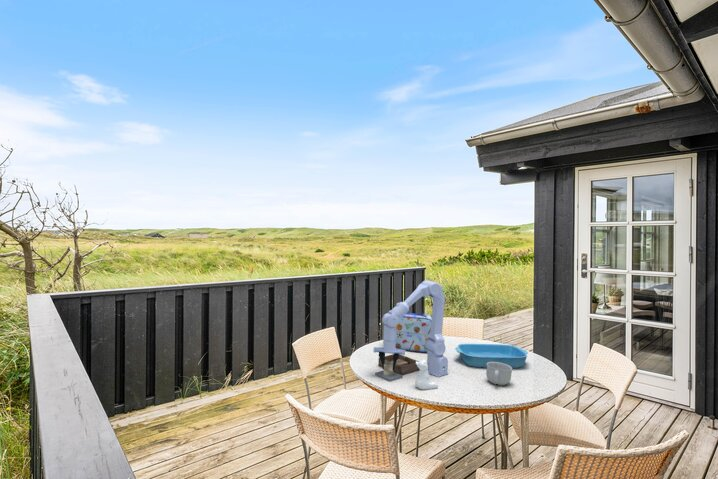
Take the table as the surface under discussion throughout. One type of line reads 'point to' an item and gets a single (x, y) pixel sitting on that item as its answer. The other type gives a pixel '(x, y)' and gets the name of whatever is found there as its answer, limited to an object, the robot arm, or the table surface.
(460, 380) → the table surface
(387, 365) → the metal block
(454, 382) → the table surface
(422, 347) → the lunch box
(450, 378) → the table surface
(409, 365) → the walnut crate
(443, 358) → the robot arm
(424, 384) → the white creature statuette
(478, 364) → the casserole dish
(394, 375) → the slate mat
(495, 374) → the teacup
